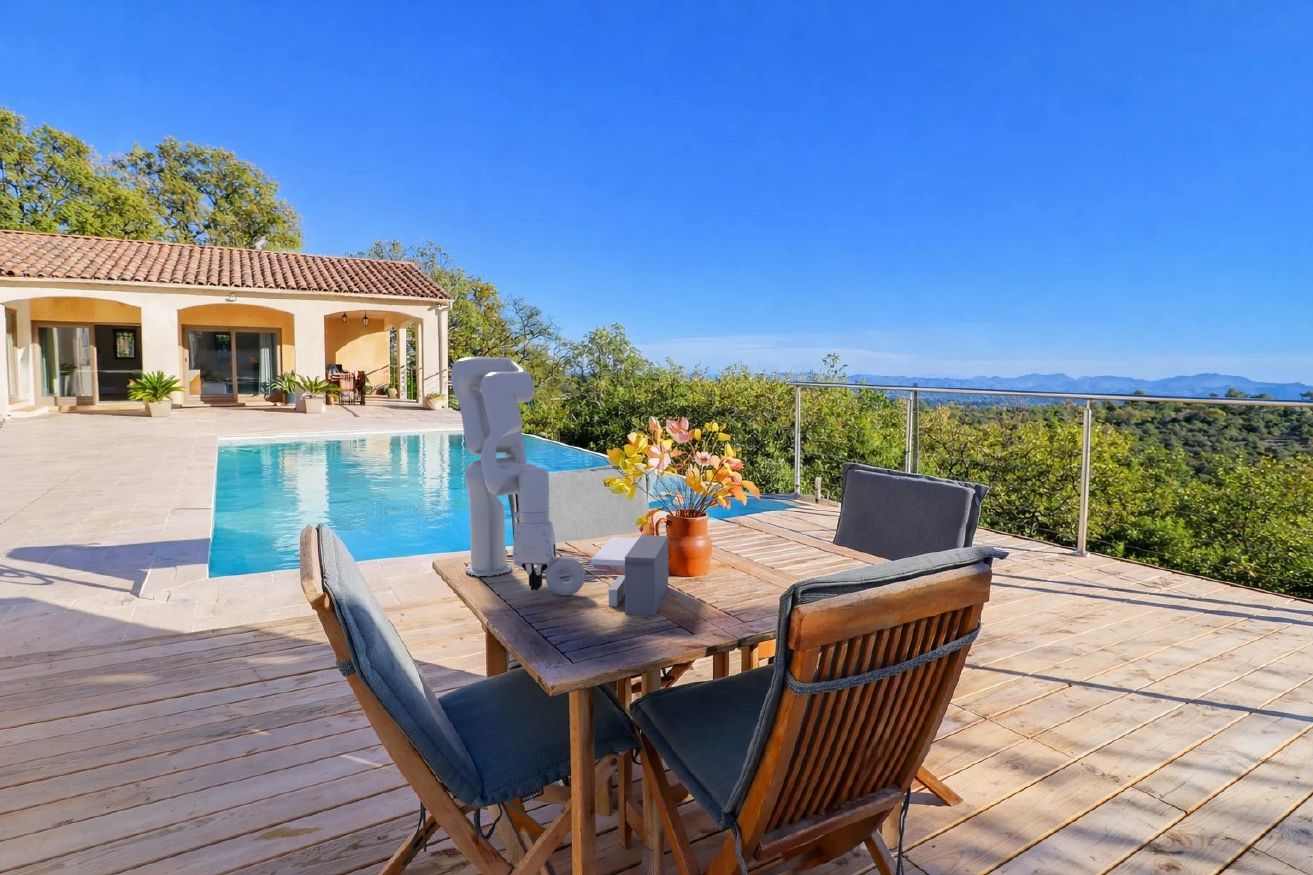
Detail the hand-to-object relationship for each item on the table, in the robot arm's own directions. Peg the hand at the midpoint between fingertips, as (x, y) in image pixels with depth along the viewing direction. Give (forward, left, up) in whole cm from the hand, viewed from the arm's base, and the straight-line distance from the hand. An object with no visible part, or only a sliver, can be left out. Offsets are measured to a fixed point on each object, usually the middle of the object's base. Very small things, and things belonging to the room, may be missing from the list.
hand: (535, 588), depth 178 cm
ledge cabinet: (0, +24, -1) cm, 24 cm away
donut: (0, +8, -2) cm, 8 cm away
